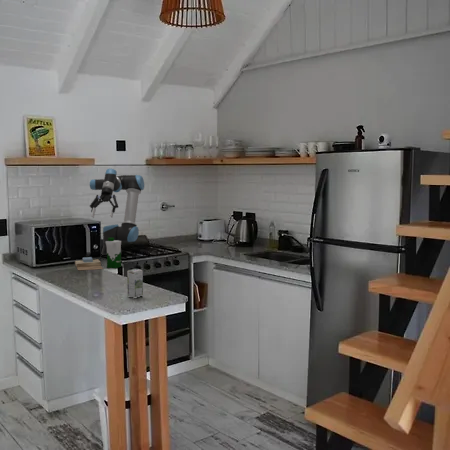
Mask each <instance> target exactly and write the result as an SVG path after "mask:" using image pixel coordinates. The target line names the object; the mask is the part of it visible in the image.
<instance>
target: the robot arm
mask: <svg viewBox="0 0 450 450" xmlns="http://www.w3.org/2000/svg"><path fill="white" fill-rule="evenodd" d="M89 188H90V190H92V191H93V190H94V191H100V193H101V194H100V195H98V194H96V196H95V198H94V199H93V200H92V202H91V203H90V205H89V207H90V209H91V210H90V212H91V216H90V217H92V219H94V218H95V215H96V209H97V208H98V207H99V205H101V204H102V203H110V204H111V209H110V212H109V213H110V214H109V217H110V218H113V216H114V213H115V211H116V209H118V208H119V205H118V201H117V196H116V195H115V194H113V193H119V192H121V191H125V192H126V193H127V194H126V203H125V211H124V218H123V222H121V223H120V225H121V226H119V223H118V224H110V225H106V226H103V227H102V242H103V243H102V244H103V247H102V249H101V253H100V254H102V255H107V247H106V241H108V238H114V240H119V241H121V243H133V242H136V241H137V239H138V238H139V235H140V234H139V231H140V230H139V227H138V226H137V224H136V218H137V210H138V203H139V202H138V201H139V195H140V194H141V192H142V191H143V190H144V189H145V181H144V177H143V176H142V175H140V174H130V175H129V174H122V175H117V170H116V169H114V168H107V169H105V173H104V178H101V179H100V178H99V179H90V181H89ZM111 199H113V201H112V200H111ZM114 204H115V205H114ZM102 255H101V256H102Z"/></svg>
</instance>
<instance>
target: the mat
mask: <svg viewBox="0 0 450 450" xmlns="http://www.w3.org/2000/svg"><path fill="white" fill-rule="evenodd" d="M76 269H77V271H78V272H80V271H92V270H93V271H94V270H95V271H96V270H103V269H104V268H103V266H102V265H101V266H91V267H76Z"/></svg>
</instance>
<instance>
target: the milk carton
mask: <svg viewBox="0 0 450 450" xmlns="http://www.w3.org/2000/svg"><path fill="white" fill-rule="evenodd" d="M121 245H122V242H121V241H119V240H114V238H108V241H106V247H107V256H106V260H107V261H106V268H107V269H119V268H122V248H121V247H122V246H121Z"/></svg>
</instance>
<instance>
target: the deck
mask: <svg viewBox="0 0 450 450" xmlns="http://www.w3.org/2000/svg"><path fill="white" fill-rule="evenodd" d="M74 264H75V265H74V266H75V268H77V267H91V266H101V267H102V262H101V261H100V259H98V258H97V259H93V262H85V263H84V262H83V260H74Z"/></svg>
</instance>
